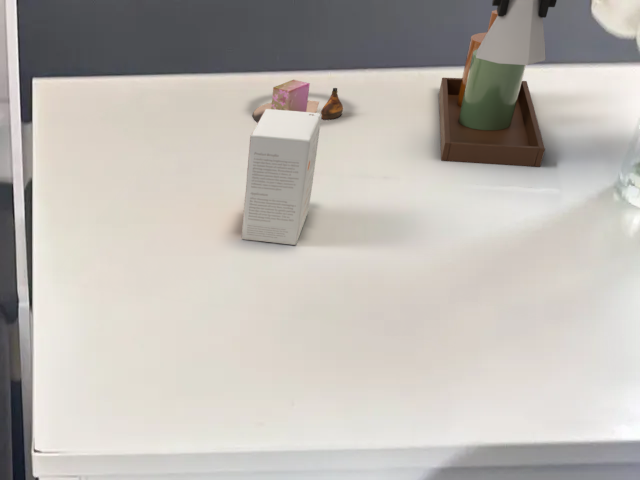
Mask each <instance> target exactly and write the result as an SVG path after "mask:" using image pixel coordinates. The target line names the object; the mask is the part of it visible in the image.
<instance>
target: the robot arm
mask: <svg viewBox="0 0 640 480" xmlns="http://www.w3.org/2000/svg"><path fill="white" fill-rule="evenodd" d="M557 1H558V0H542V1H541V6H540V11H539V16H540V17H541V18H543V19H544V18H547V15H548V12H549V8H555V7H556V5H557ZM491 5H492V7H497V8H496V10H497V13H498V16H504V15H506V13H507V9H508V5H509V0H492V2H491Z"/></svg>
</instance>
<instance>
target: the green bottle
mask: <svg viewBox="0 0 640 480" xmlns="http://www.w3.org/2000/svg"><path fill="white" fill-rule="evenodd" d="M477 50H478V49H477ZM477 50H475V51H474V52H473V55H472V59H471V64H470V68H469V73H468V78H467V82H466V87H465V91H464V96H463V100H462V105H461V109H460V114H459V119H458V122H459V123H460V124H461V125H463V126H465V127H468V128H472V129H477V130H502V129H506V128H508V127H510V125H511V123H512V119H513V115H514V111H515V107H516V103H517V99H518V95H519V91H520V87H521V83H522V81H523V79H524V74H525V71H526V67H527V65H518V64H500V63H495V62H491V61H487V60H483V59H479V58H476V54H477Z"/></svg>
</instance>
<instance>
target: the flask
mask: <svg viewBox="0 0 640 480" xmlns="http://www.w3.org/2000/svg"><path fill="white" fill-rule="evenodd" d="M541 1H542V0H509V5H508V9H507V13H506V15H504V16H497V18H496V19H495V21H494V23H493V24H492V26H491V28H490V29H489V31H488V33H487V34H486V36H485V38H484V39H483V41H482V43H481V45H480V46H479V48H478V50H477V54H476V58H479V59H483V60H487V61H491V62H495V63H500V64H518V65H526V66H530V65H533V64H537V63H541V62H545V61H547V59H546V58H547V57H546V42H545V41H546V40H545V32H544V18H541V17H540V16H539V11H540V6H541Z"/></svg>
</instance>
